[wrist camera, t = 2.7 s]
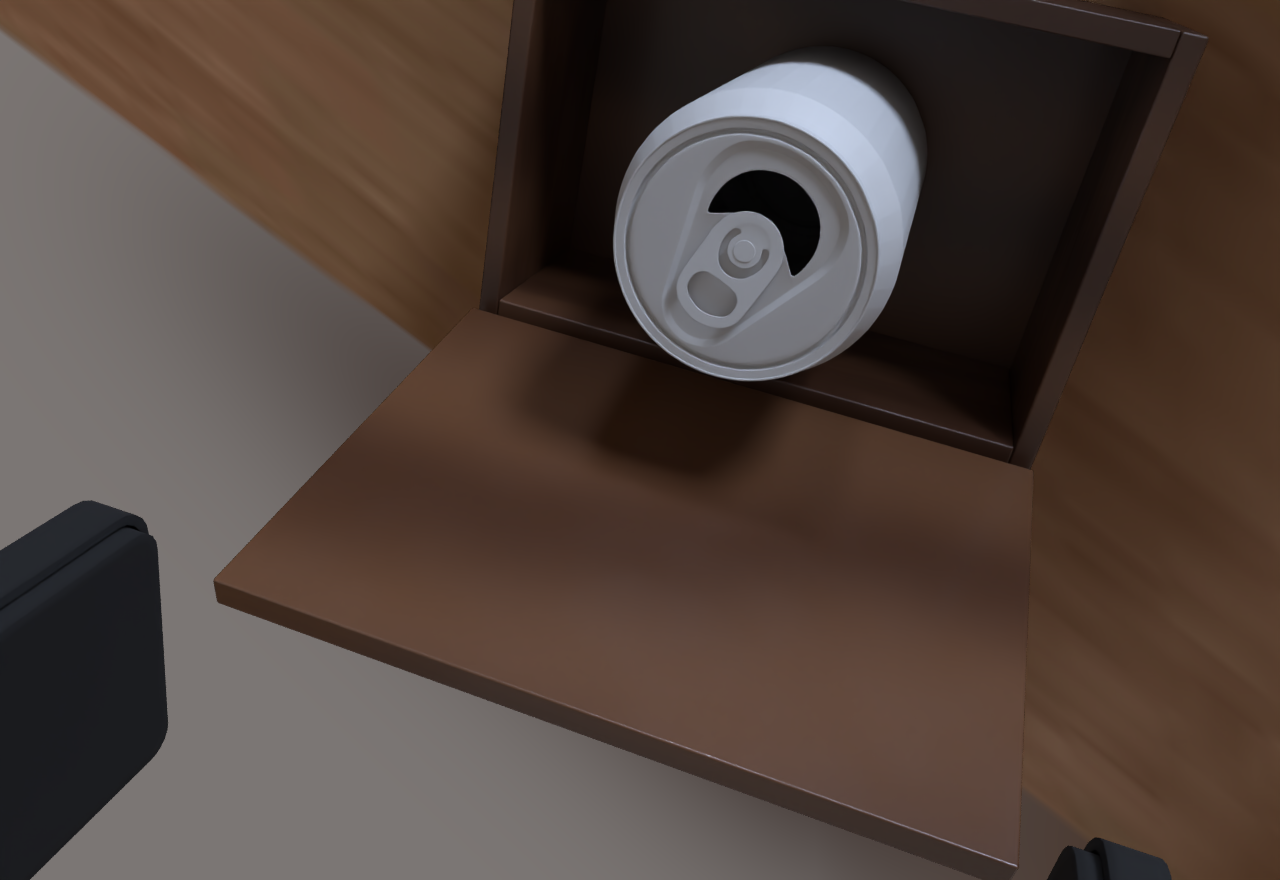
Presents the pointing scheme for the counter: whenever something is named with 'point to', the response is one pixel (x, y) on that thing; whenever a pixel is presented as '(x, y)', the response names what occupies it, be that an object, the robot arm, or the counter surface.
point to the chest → (947, 206)
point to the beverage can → (772, 214)
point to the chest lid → (682, 580)
